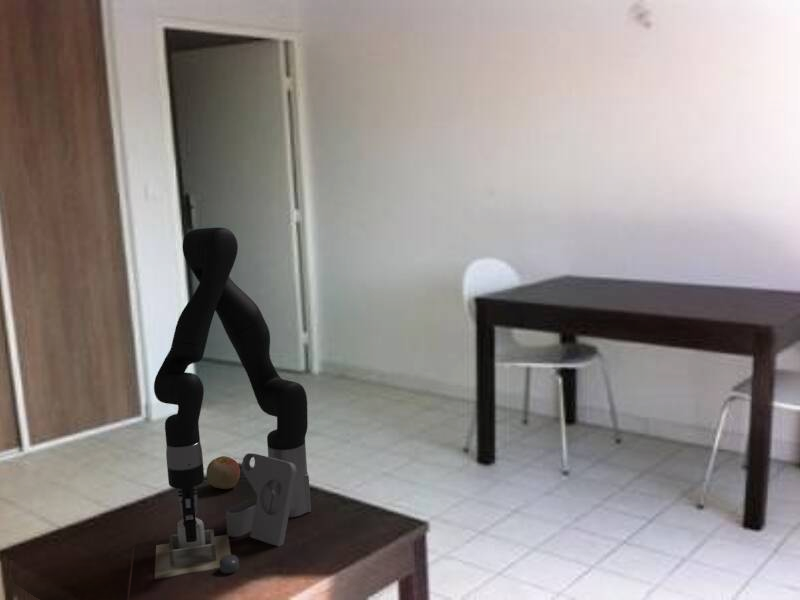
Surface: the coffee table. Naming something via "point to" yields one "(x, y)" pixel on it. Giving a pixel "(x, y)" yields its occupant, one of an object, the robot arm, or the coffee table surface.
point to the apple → (223, 472)
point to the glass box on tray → (190, 556)
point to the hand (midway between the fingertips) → (191, 533)
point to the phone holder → (264, 501)
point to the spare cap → (229, 564)
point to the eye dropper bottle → (182, 534)
